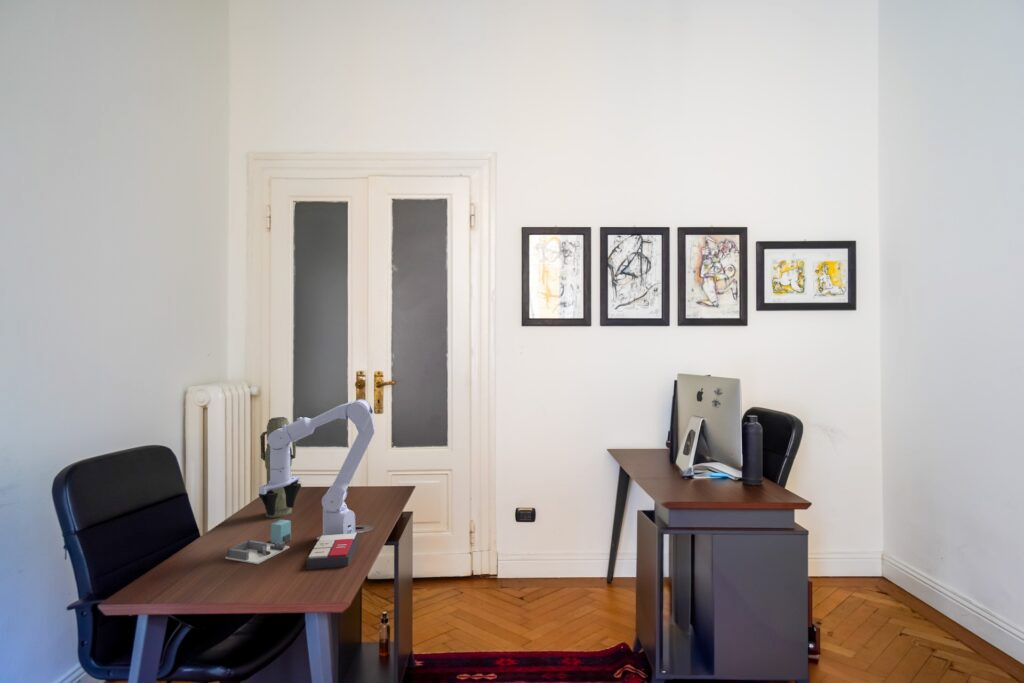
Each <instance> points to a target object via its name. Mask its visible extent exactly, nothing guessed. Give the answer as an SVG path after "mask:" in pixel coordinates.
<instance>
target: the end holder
mask: <svg viewBox="0 0 1024 683" xmlns="http://www.w3.org/2000/svg"><path fill="white" fill-rule="evenodd" d="M267 543H268V542H264V541H257V540H251V539H250V540H249V539H248V540H245V541H243V542H241V543H239V544H236V545H234V546H232V547H230V548H227V553H226V554H227V556H226V557H230V558H236V559H242V560H248V559H249V551H245V550H247V549H253V550H262V546H265V548H266V550H267Z"/></svg>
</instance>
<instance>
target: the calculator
mask: <svg viewBox="0 0 1024 683" xmlns="http://www.w3.org/2000/svg"><path fill="white" fill-rule="evenodd" d="M320 536H321V537H320ZM320 536H319V537H320V538H319V540H317V541H316V543H315V544H314V546H313V548H312V550H311V551H310V553H309V555H308V556H307V558H306V570H310V569H311V570H313V569H327V568H339V567H343V568H344V567H348V566H349V565H350V563H351V561H352V558H353V556H354V554H355V551H357V548H358V546H359V535H358V533H357V534H355V533H354V534H338V535H323V534H322V535H320Z"/></svg>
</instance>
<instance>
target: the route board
mask: <svg viewBox="0 0 1024 683" xmlns="http://www.w3.org/2000/svg"><path fill="white" fill-rule="evenodd" d="M266 543H267V550H266V548H265V546H262V550H253V549H247V550H245V551H249V559H248V560H242V559H236V558H230V557H227V556H225V560H226V559H227V560H232V561H238V562H243V563H249V564H255V565H259V564H261V563H263V562H265V561H267V560H269V559H270V558H272V557H275V556H276V555H279V554H280V553H282V552H285V551H286V550H288V549H290V548H291V547H290V546H289V545H286V543H285V542H282V543H280V541H278V542H276V543H274V544H273V543H270V542H269V543H268V542H266Z"/></svg>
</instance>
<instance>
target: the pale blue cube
mask: <svg viewBox="0 0 1024 683" xmlns="http://www.w3.org/2000/svg"><path fill="white" fill-rule="evenodd" d="M291 529H292V521H291V520H290V519H289V520H287V519H278V520H276V521H274V522H272V523H270V544H273V543H276V542H278V541H280V543H282V542H285V544H286V543H289V542H291V540H292V530H291Z"/></svg>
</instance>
